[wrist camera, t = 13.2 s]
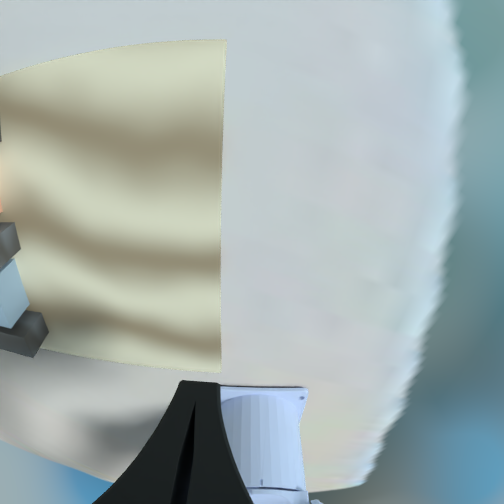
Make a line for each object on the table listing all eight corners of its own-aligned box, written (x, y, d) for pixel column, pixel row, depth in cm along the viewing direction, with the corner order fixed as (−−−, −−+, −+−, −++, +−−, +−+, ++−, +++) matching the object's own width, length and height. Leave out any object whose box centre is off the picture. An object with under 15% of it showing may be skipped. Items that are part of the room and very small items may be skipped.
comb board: (221, 368, 23) (218, 404, 20) (-3, 333, 23) (-20, 357, 20) (226, 41, 13) (220, 27, 10) (-60, 102, 12) (-91, 111, 9)
